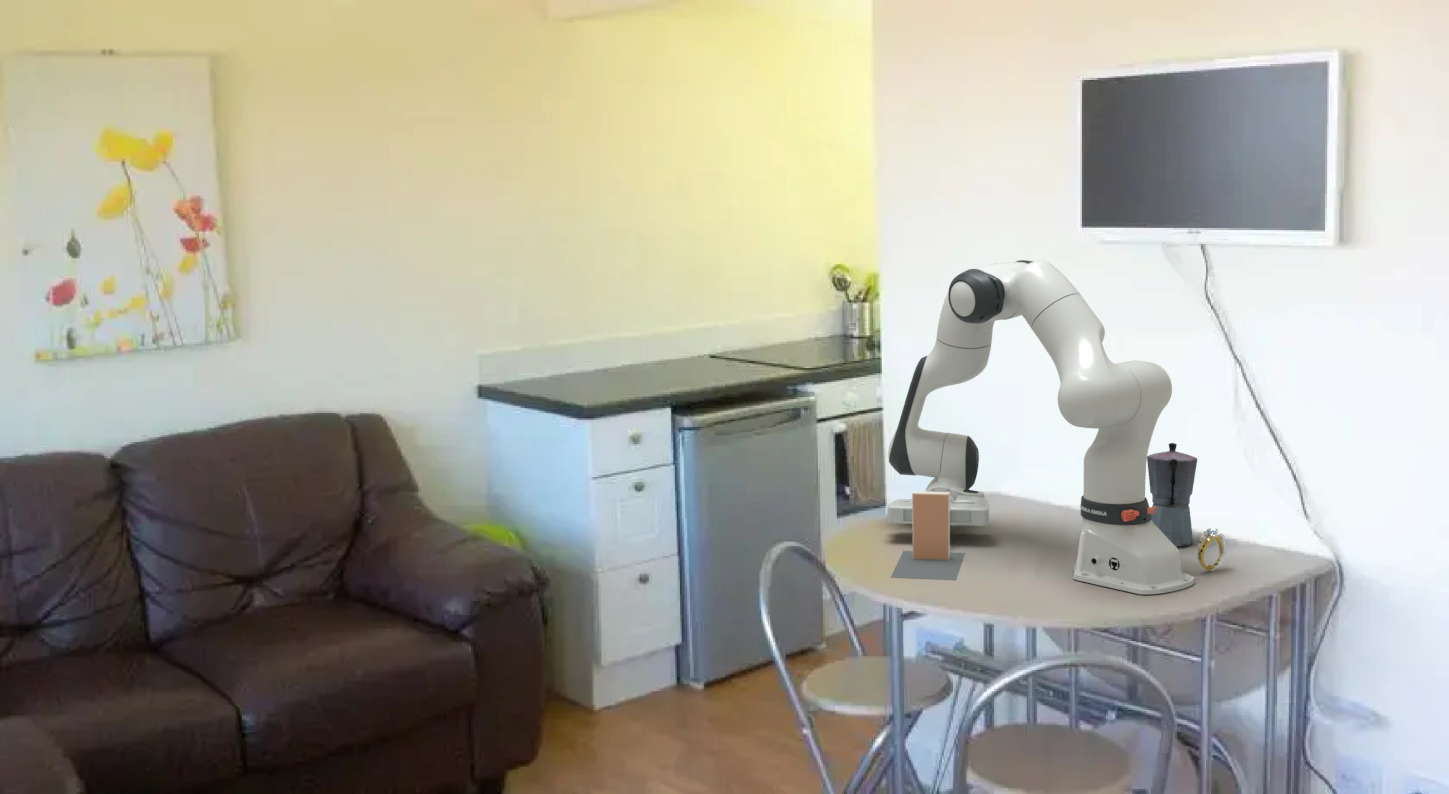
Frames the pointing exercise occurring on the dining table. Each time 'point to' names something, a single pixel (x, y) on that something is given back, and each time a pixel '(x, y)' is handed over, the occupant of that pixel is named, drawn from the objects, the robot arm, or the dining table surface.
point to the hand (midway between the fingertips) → (934, 522)
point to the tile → (931, 525)
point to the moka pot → (1172, 493)
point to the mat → (928, 567)
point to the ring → (1202, 547)
